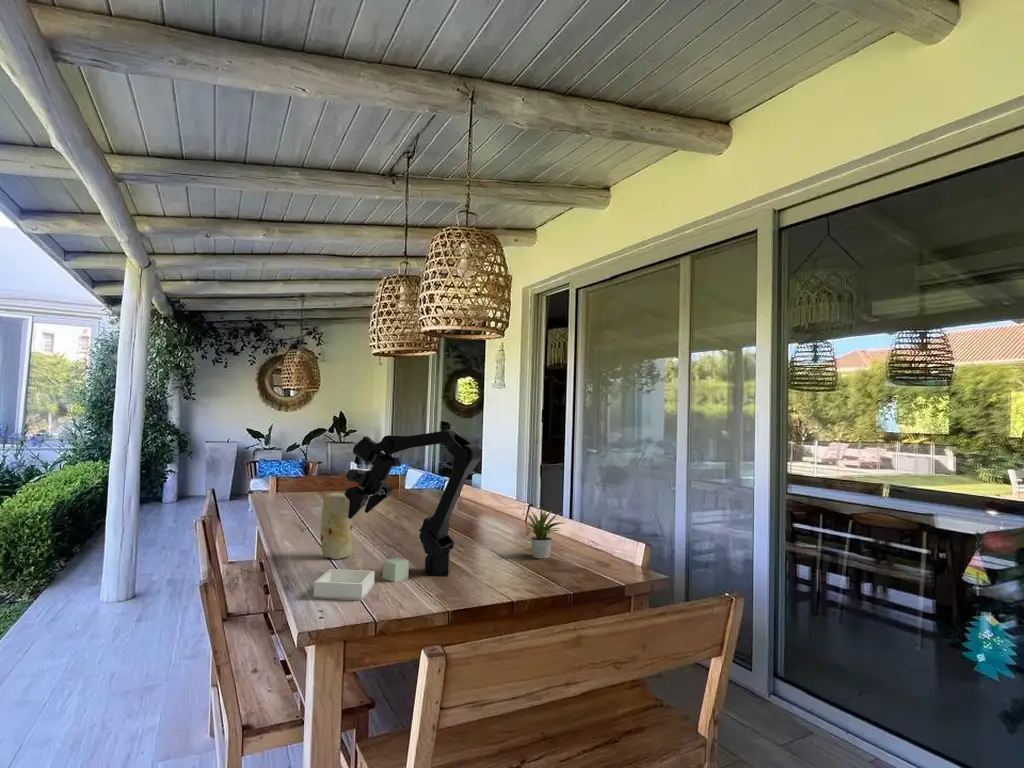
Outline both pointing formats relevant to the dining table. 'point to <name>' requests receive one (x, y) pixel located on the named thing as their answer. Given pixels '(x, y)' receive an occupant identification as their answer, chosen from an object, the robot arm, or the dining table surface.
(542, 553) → the house plant
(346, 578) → the bin
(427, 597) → the dining table surface
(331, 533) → the food model
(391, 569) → the green block
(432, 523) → the robot arm
